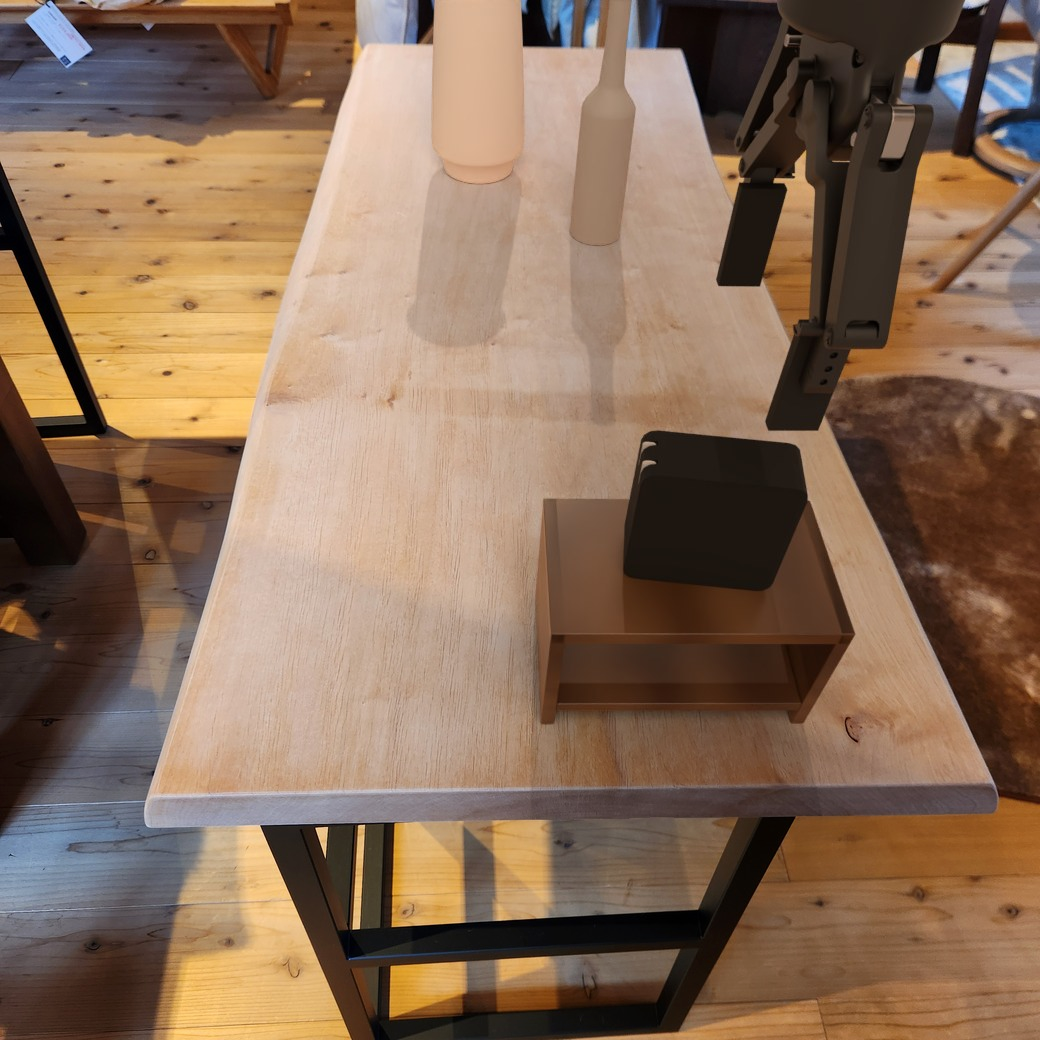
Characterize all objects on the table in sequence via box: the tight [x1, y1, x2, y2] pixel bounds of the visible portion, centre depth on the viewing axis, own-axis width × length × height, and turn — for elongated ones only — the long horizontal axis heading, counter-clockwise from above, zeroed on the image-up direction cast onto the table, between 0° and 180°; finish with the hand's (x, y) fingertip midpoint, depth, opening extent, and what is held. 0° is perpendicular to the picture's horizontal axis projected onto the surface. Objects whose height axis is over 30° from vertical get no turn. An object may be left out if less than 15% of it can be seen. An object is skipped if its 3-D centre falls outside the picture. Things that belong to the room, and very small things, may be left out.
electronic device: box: [623, 429, 809, 591], centre depth 55 cm, size 4×10×10 cm, turn 84°
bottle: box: [569, 0, 637, 246], centre depth 101 cm, size 7×7×28 cm
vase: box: [430, 0, 526, 185], centre depth 112 cm, size 13×13×28 cm
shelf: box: [535, 497, 856, 725], centre depth 63 cm, size 20×12×12 cm, turn 91°
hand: (762, 348), depth 50 cm, fingers open, 13 cm apart
